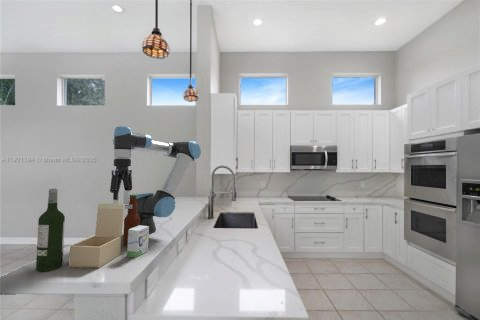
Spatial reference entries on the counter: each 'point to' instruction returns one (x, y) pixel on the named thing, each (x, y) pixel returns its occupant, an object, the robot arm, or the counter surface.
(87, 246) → the carton
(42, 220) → the wine bottle
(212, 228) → the counter surface
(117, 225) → the flap
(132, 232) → the ink box
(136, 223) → the bottle
